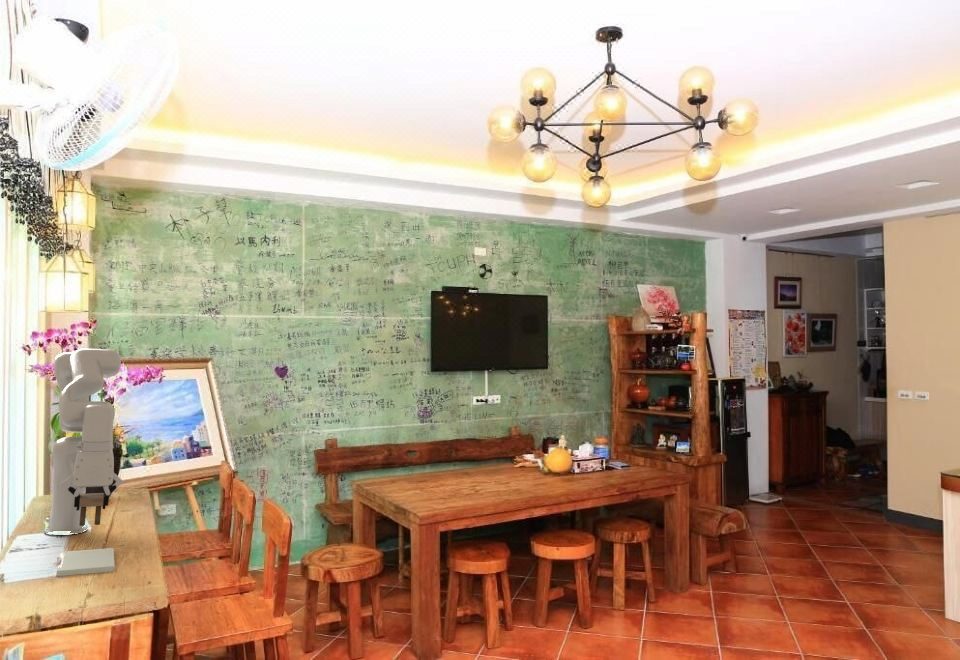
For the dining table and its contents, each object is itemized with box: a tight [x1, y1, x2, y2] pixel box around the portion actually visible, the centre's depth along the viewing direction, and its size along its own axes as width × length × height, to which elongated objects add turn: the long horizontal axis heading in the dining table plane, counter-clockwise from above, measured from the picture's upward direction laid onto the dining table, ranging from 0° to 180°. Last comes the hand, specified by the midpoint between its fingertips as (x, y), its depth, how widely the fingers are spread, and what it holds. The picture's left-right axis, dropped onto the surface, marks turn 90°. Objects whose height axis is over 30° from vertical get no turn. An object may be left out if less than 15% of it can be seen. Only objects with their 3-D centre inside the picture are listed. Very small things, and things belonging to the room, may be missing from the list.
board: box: [56, 547, 115, 577], centre depth 199 cm, size 18×14×2 cm
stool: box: [79, 492, 104, 526], centre depth 199 cm, size 6×6×8 cm
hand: (91, 508), depth 199 cm, fingers closed on stool, 6 cm apart
